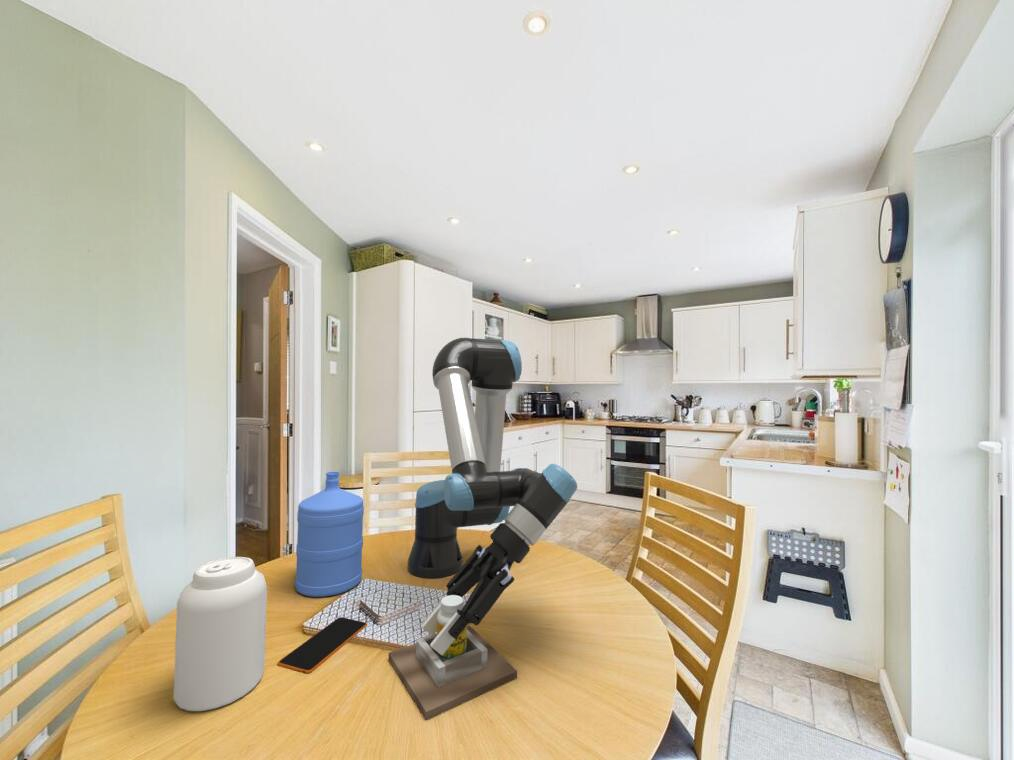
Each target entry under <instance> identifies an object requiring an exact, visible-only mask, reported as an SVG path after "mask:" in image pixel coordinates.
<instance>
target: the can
mask: <svg viewBox="0 0 1014 760" xmlns="http://www.w3.org/2000/svg"><path fill="white" fill-rule="evenodd" d="M267 593H268V586H267V583H266V579H265V575H264V573H262V572H260V571H259V570H257V569H256V565H255V562H254V560H253V559H252V558H250V557H244V556H228V557H223V558H219V559H215V560H212V561H209V562H206V563H204V564H202V565H200V566H199V567H197V568H196V569H195V571H194V573H193V575H192V580H191V581H190V583H188V584H187V585H186V586H185V587H184V588H183V589H182V590H181V592H180V593H179V597H178V599H177V603H176V620H175V621H176V622H175V624H176V627H175V648H174V649H175V651H174V674H173V675H174V676H173V677H174V678H173V701H174V703H175V704H176V705H177V707H178V708H179V709H182V710H185V711H187V712H205V711H209V710H214V709H218V708H220V707H224V706H226V705H229V704H231V703H233V702H235V701H237V700H238V699H241V698H243V697H244V696H245V695H247V694H248V693H249V692H250V691H252V690H253V689H254V688H255V687H256V686H257V685H258V683H259V682H260V681H261V679H262V677H263V674H264V672H265V663H266V661H265V658H266V656H265V655H266V634H267V632H266V631H267V629H266V627H267V601H268V600H267V598H268V597H267V596H268V595H267Z"/></svg>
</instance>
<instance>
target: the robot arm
mask: <svg viewBox="0 0 1014 760" xmlns="http://www.w3.org/2000/svg"><path fill="white" fill-rule="evenodd" d="M522 363H523V362H522V357H521V354H520V351H519V347H517V345H516V344H515V342H512V341H511V340H503V339H495V338H494V339H491V338H490V339H489V338H488V339H487V338H470V337H459V338H455V339H453V340H451V341H449V342H447V344H445V345H444V346H443V347H442V348H441V349H440V350H439V352H438V353H437V355H436V357H435V359H434V362H433V366H432V381H433V385H434V387H435V388H436V389H437V390H438V394H439V400H440V405H441V406H440V407H441V413H442V417H443V424H444V431H445V436H446V444H447V447H448V448H447V450H448V456H449V461H450V462H449V463H450V467H451V474H448V475H446V476H445V479H441V480H439V479H438V480H433V481H430V482H427V483H425V484H423V485H420V487H419V488H418V489H417V490H416V495H415V496H416V497H415V503H414V507H415V518H414V520H415V522H414V524H415V526H414V527H415V528H414V542H413V544H412V548H411V549H410V553H409V556H408V560H407V571H408V572H409V573H410V574H411V575H414V576H416V577H419V578H427V579H436V578H437V579H438V578H443V577H448V576H452V575H453V576H452V577H451V579H449V581H448V582H447V584H446V586H445V587H446V589H447V591H446V596H449V595H457V596H460V597H462V598H463V597H464V596H465V595H466V594H467V593H469V591H470V590H472V589H473V590H472V591H471V594H470V595H469V597H468V599H467V600H466V602H465V604H463V608H462V610H459V609H457V612H456V613H455V614H454V615H453V617H452V618H451V619H450V620H449V622H448V623H447V624H446V625H445V627H444V628H443V629H442V630H441V631H440V633H439V634H438V635H437V636H436V638H435V639H434V640H433V641H432V643H431V644H430V645H431V647H432V648H433V649H434V650H436V651H437V652H438V653H439V654H441V655H443V654H444V653H445V651H446V650H447V649H448V647H449V646H450V645H451V644H452V642H453V641H454V640H455V639H456V638H457V637H458V636H459V635H460V633H461V632H462V631H463V630H464V628H465V627H466V626H467V625H470V624H473V625H474V626H479V625H480V623H481V622H482V621H483V619H484V618H485V616H486V615H488V613H489V612H490V610H491V609H492V607H493V606H494V604H495V603H496V602H497V601H498V599H499V598H500V596H501V595H502V594H503V593H504V591H505V590H506V589H507V588H508V587H510V585H511V584H512V583H514V581H515V578H514V577H513V575H512V574H511V573H510V570H511V568H512V566H513V564H514V563H516V564H520V563H522V561H523V560H524V559H525V557H526V556H527V555H528V554H529V553H530V551H531V547H530V546H535V544H536V543H537V541H539V540H540V538H541V536H542V535H543V534H544V532H545V531H546V530H547V529H548V527H550V525H551V524H552V523H553V522H554V520H555V519H556V518H557V517H558V516H559V514H560V513H561V511H562V510H563V509H564V508H565V507H566V505H567V504H568V503H569V502H570V500H571V498H572V497H573V496H574V495H575V493H576V491H577V489H578V483H577V481H576V480H575V478H574V477H573V476H572V475H571V473H570V472H568V471H567V470H566V469H564V468H563V467H561V466H560V465H559V464H556V463H550V464H548V466H547V467H546V468H545V469H543V470H542V472H537V471H535V470H532V469H530V468H528V467H527V468H526V467H524V468H523V467H516V468H514V469H511V470H504V471H501V466H502V454H503V444H504V443H503V441H504V427H505V417H506V415H505V414H506V403H507V394H508V393H509V392H511V391H512V390H513V383H516V382H518V381H519V380H520V379H521V376H522V370H523V366H522ZM470 382H471V384H470ZM469 384H470V385H471V388H472V389H474V390H473V391H475V407H474V406H473V401H472V396H471V392H470V388H469V387H470V386H469ZM511 507H512V508H511ZM510 509H511V510H510ZM503 521H504V522H503ZM493 524H498V526H496V528H495V529H494V530H493V532H492V533H491V534H490V539H491V541H492V543H490V544H488V546H487V547H486V548H484V547H482V546H481V545H479V544H478V545H477V546H476V548H475V549H474V550H473V552H472V553H471V555H470V557H469V558H468V559H467V560H466V561H465V563H464V564H463V556H462V555H463V554H462V551H461V548H460V545H459V542H458V539H457V536H458V534H457V533H458V532H457V530H458V528H465V527H467V528H468V527H475V526H478V527H479V526H486V525H487V526H491V525H493ZM440 610H441V602H440V603H439V604H438V605H437V607H436V608H435V609H434V610H433V612H431V614H430V615H429V616H428V618H427V619H426V620H424V622H423V624H422V625H421V627H422V629H424V631H426V632H427V633H428V634H429V635H432V636H433V635H434V634H435V633H437V615H438V613H439V611H440Z"/></svg>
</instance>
